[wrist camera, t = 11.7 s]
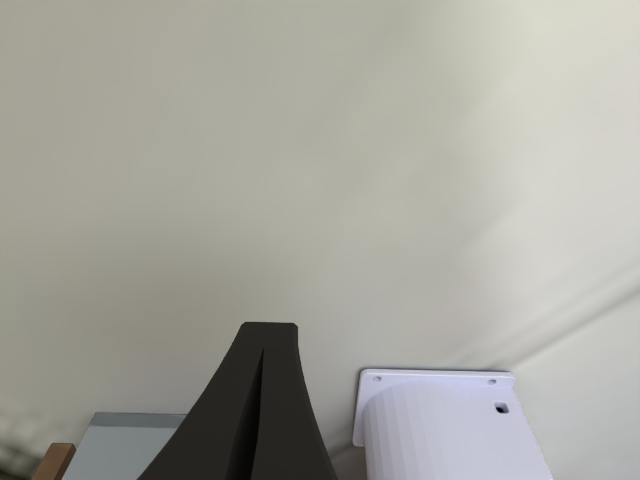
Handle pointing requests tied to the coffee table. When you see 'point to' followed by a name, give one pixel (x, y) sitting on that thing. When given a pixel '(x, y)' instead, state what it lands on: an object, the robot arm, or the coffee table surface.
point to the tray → (121, 445)
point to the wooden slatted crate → (55, 462)
